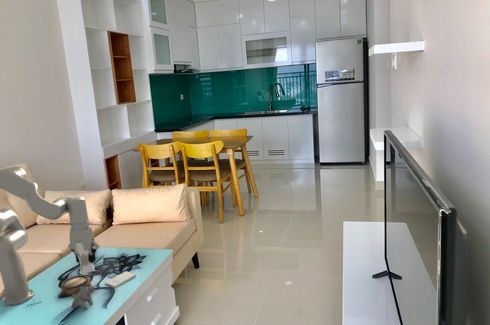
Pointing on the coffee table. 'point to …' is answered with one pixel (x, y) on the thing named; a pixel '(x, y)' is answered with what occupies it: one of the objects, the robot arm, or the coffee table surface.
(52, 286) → the coffee table surface
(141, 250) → the coffee table surface
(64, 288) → the brown round bowl
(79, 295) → the elephant statuette
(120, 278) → the external hard drive
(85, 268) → the silver metal cup
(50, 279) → the coffee table surface
